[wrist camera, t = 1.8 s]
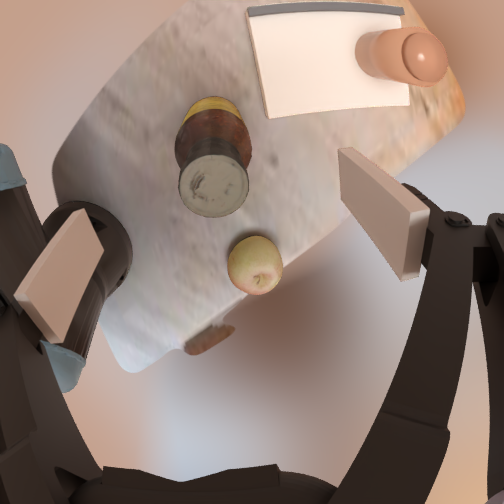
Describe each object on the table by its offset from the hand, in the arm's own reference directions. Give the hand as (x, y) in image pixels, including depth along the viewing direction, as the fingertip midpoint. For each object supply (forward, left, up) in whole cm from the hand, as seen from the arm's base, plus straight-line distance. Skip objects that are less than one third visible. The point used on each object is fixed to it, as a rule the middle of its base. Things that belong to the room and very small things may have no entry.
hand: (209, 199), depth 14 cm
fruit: (+1, -19, -23) cm, 30 cm away
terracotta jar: (+20, +6, -20) cm, 29 cm away
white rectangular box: (+15, +6, -22) cm, 27 cm away
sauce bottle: (0, 0, -23) cm, 23 cm away
